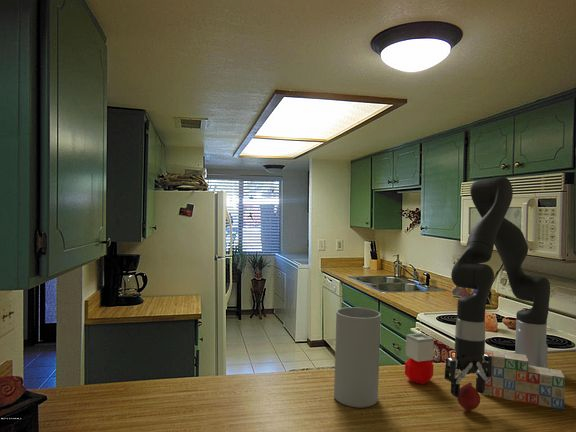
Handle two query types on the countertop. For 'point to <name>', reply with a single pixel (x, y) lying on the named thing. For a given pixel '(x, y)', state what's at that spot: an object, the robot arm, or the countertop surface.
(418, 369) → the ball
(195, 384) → the countertop surface
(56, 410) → the countertop surface
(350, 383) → the cylinder vase
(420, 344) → the socket block
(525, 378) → the stack of blocks
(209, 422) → the countertop surface
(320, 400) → the countertop surface
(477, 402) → the onion
